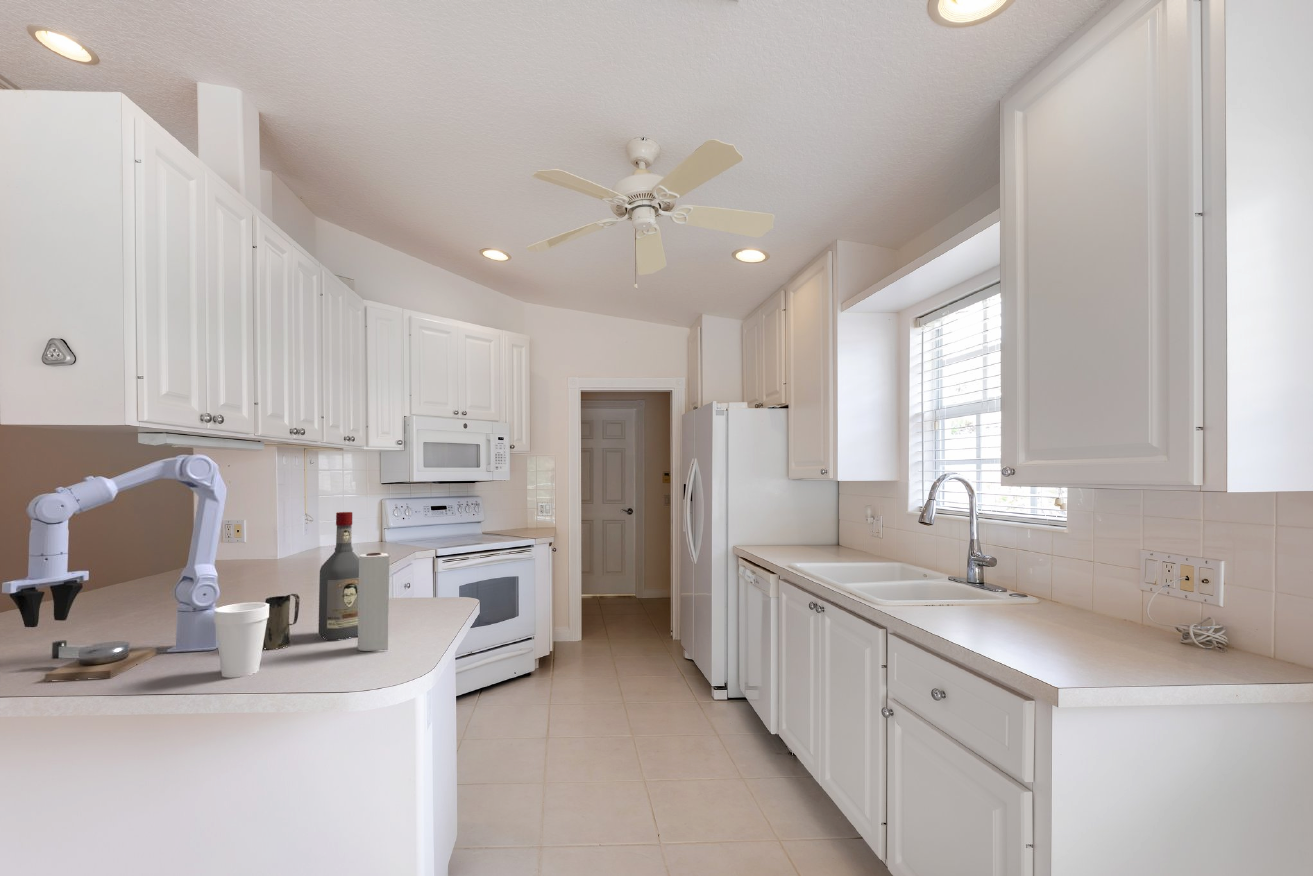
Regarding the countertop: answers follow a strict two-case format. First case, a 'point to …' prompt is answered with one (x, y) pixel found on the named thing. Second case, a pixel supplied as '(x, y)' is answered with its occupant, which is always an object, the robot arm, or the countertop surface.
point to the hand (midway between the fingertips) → (46, 623)
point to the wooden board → (100, 667)
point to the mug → (279, 621)
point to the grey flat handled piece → (91, 652)
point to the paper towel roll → (373, 602)
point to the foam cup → (240, 637)
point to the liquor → (340, 586)
